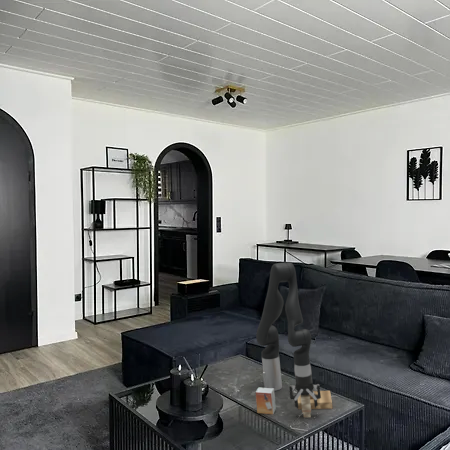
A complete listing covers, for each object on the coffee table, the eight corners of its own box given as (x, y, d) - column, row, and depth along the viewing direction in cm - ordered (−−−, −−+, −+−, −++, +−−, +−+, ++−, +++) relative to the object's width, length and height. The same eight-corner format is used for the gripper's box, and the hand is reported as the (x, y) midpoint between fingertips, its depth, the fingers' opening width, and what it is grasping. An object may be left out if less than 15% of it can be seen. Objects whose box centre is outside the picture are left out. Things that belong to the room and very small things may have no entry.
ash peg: (302, 418, 197) (300, 397, 197) (302, 413, 201) (300, 392, 201) (311, 417, 197) (309, 396, 196) (311, 413, 201) (309, 392, 200)
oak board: (298, 409, 206) (297, 403, 205) (298, 397, 217) (297, 391, 217) (332, 408, 203) (331, 402, 203) (330, 396, 215) (329, 390, 214)
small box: (257, 413, 206) (254, 392, 205) (260, 407, 211) (258, 386, 210) (273, 414, 203) (271, 393, 202) (276, 408, 208) (274, 387, 208)
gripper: (318, 368, 200) (321, 402, 201) (287, 370, 202) (290, 403, 203) (319, 375, 193) (322, 410, 194) (287, 376, 195) (290, 411, 196)
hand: (306, 407), depth 199 cm, fingers open, 7 cm apart
